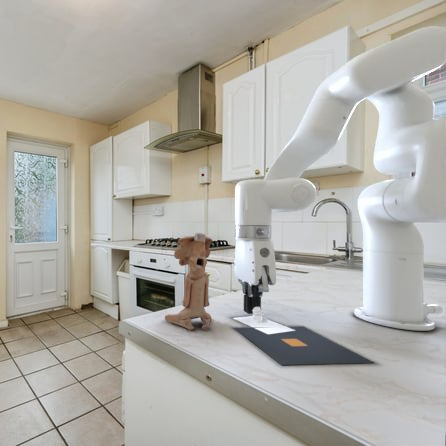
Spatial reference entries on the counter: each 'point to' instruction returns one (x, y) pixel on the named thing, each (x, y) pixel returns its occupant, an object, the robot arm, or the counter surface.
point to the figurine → (193, 281)
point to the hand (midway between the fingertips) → (252, 312)
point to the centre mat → (301, 347)
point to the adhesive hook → (263, 323)
